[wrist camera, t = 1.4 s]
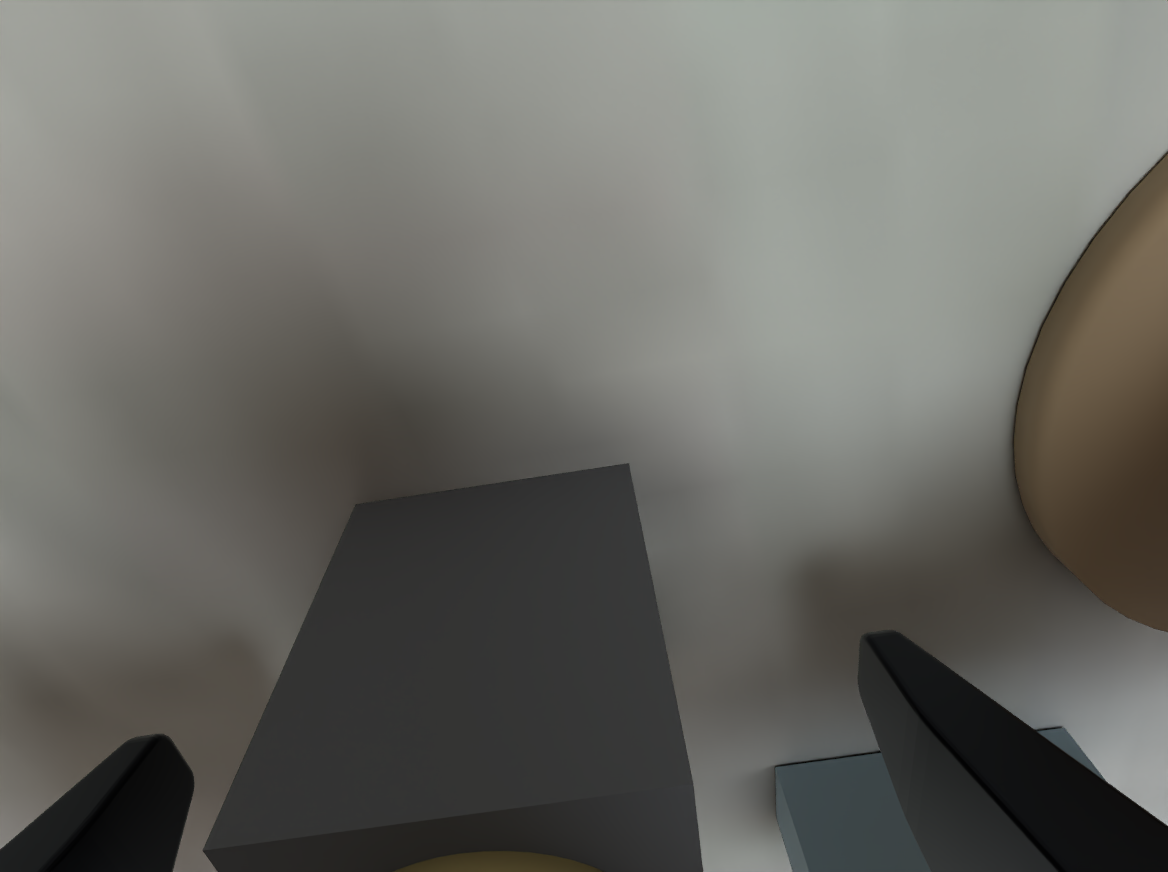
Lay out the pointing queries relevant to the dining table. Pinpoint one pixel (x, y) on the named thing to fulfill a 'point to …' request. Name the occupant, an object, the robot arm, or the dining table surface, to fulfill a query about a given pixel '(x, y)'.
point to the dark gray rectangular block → (474, 697)
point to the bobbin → (1106, 413)
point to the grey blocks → (857, 814)
